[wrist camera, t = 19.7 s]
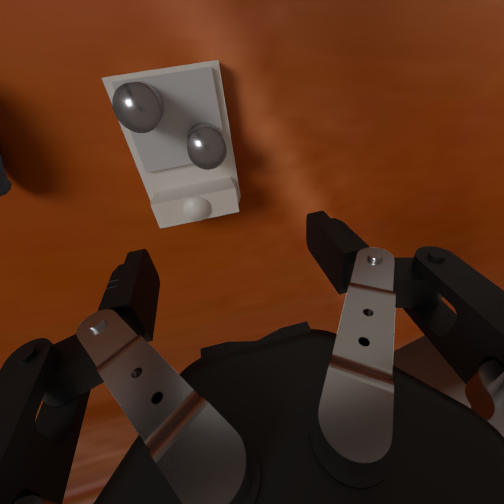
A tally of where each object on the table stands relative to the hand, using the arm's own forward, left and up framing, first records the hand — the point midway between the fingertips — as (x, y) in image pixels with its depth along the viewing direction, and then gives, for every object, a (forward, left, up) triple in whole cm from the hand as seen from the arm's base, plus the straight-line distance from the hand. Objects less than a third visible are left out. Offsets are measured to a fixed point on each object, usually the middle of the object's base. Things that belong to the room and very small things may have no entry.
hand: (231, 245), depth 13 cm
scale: (+1, -3, -28) cm, 28 cm away
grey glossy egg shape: (-5, -6, -25) cm, 26 cm away
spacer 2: (0, 0, -25) cm, 25 cm away
